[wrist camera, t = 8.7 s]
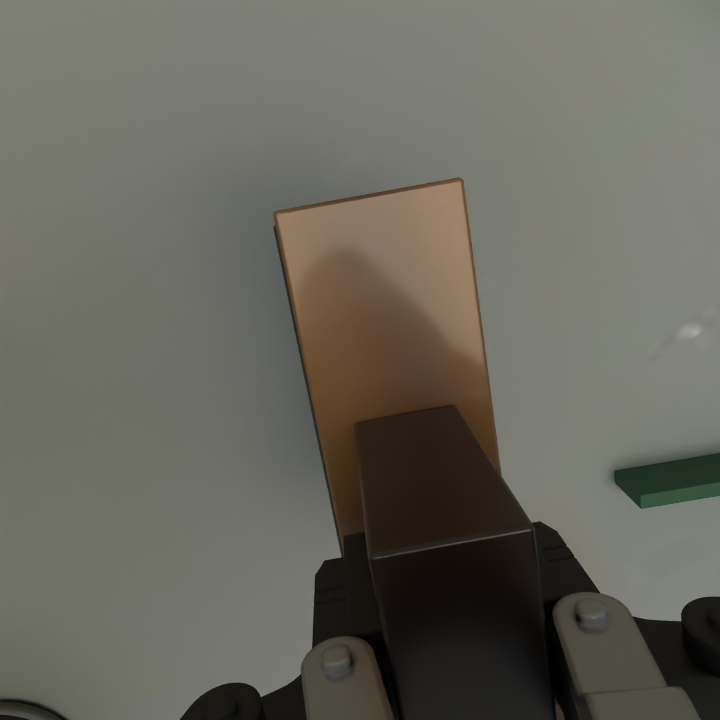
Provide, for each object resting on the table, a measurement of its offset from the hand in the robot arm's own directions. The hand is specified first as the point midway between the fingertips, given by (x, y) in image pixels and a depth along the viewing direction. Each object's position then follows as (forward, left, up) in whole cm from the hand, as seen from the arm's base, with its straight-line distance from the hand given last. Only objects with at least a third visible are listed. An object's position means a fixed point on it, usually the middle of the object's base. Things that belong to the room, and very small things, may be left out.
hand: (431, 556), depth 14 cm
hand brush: (0, 0, -5) cm, 5 cm away
